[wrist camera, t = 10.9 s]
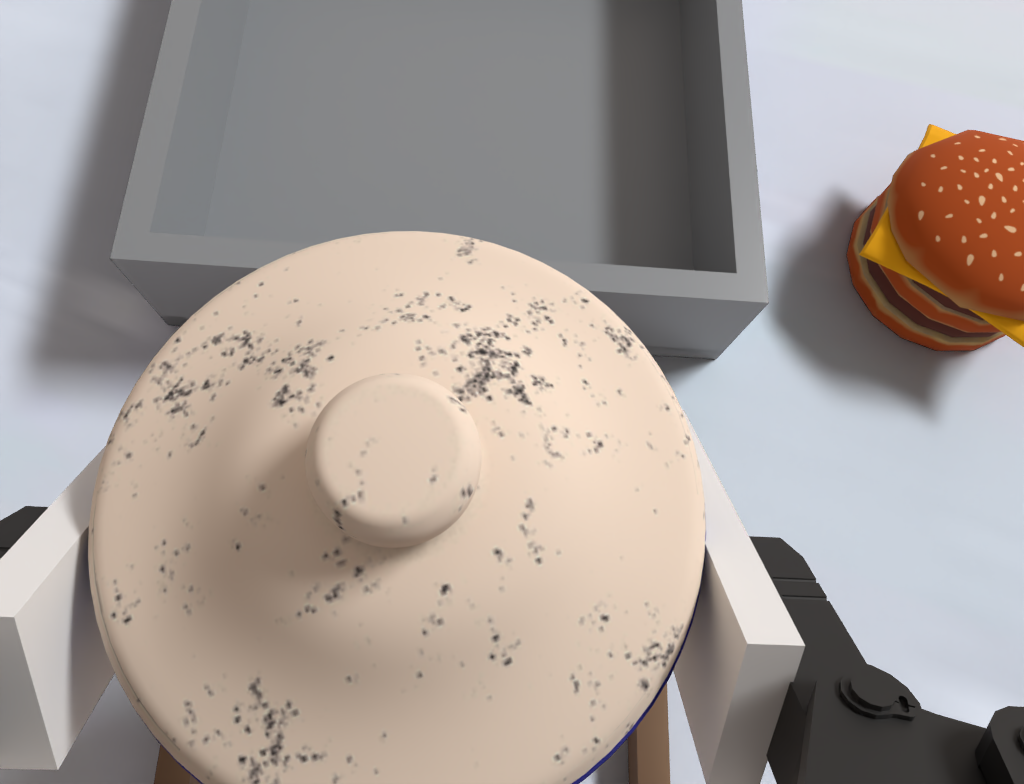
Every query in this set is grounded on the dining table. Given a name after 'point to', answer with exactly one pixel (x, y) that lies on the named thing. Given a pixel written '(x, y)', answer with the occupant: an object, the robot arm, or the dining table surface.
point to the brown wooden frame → (643, 752)
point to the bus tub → (458, 148)
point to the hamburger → (947, 243)
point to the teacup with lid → (397, 523)
